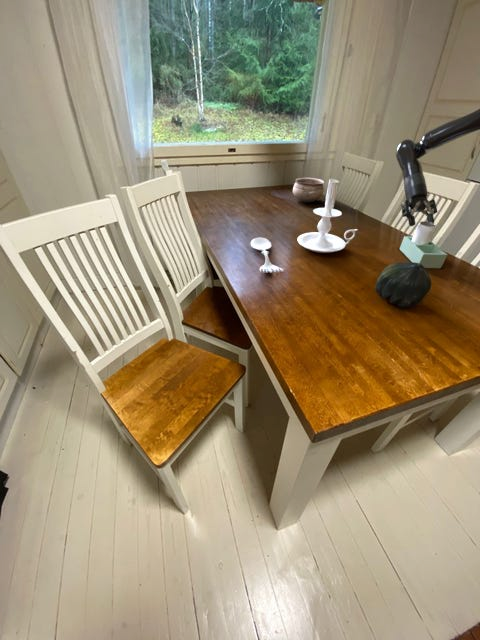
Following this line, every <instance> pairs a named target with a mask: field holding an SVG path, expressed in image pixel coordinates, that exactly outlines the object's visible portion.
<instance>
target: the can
mask: <svg viewBox="0 0 480 640" xmlns="http://www.w3.org/2000/svg"><path fill="white" fill-rule="evenodd" d="M436 225H437V224H436V223H435V222H434V223H431V222H427V220H426V221H423V220H422V221H420V222H419V224H418V225H417V226H416V228H415V231H414V233H413V236H412V237H413V238H412V240H411V241H412V242H413V243H414V244H419V245H428V244H429V242H430V241H431V240H432V238H433V235H434V233H435V231H436Z"/></svg>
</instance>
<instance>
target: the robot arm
mask: <svg viewBox="0 0 480 640" xmlns="http://www.w3.org/2000/svg"><path fill="white" fill-rule="evenodd" d="M478 131H480V108H478V109H476V110H475V111H473V112H470V113H468V114H465V115H463V116H460V117H457V118H455V119H452V120H450V121H447V122H445V123H443V124H441V125H438V126H436V127H434V128H432V129H431V130H428V131H427V132H425V133H424V134H423V135H422V139H421V140H419V141H418V142H416V141H414V140H412V139H409V138H407V139H406V138H405V139H403V140H402V141H400V142H399V144H398V145H397V146H396V149H395V157H396V160H397V163H398V166H399V168H400V170H401V174H402V180H403V190H404V195H405V200H404V201H402V203H401V204H400V207H401V216H402V217H403V218H407V221H408V225H409V227H415V226H416V218H415V213H422V214H423V215H425V216H426V222H431V223H434V224H435V218H434V215H436V214H437V213H439V212H438V207H437V203H436V200H435V198H432V199H431V200H430V199H428V195H429V193H428V187H427V183H426V177H425V175H424V171H423V166H422V163H421V161H420V160H419V159H421V158H422V157H424V156H426V155H427V154H428V153H430V152H431V151H433V150H436V149H438V148H440V147H442V146H445V145H447V144H449V143H451V142H453V141H456V140H458V139H459V138H463V137H464V136H466V135H469V134H471V133H475V132H478Z"/></svg>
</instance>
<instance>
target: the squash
mask: <svg viewBox="0 0 480 640" xmlns="http://www.w3.org/2000/svg"><path fill="white" fill-rule="evenodd" d="M431 288H432V278H431V276H430V274H429V272H428V270H427V268H424V266H423V265H421V264H420V263H415V262H411V261H407V262H394V263H392V264H389V265H387V266H385V268H384V269H382V270H381V272H380V273H379V274H378V277H377V280H376V283H375V292H376V294H377V296H379V297H381V298H382V299H383V300H384V301H386V302H388V301H389V302H390V304H394V305H396V306H397V307H398V308H402V309H404V308H408V307H410V308H411V307H415V306H417V305H419V304H421V303H422V302H423V300H424V299H426V296H427V295H429V293H430V291H431Z"/></svg>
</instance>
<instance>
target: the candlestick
mask: <svg viewBox="0 0 480 640" xmlns="http://www.w3.org/2000/svg"><path fill="white" fill-rule="evenodd" d="M339 184H340V181H339V180H337V179H335V178H329V179H328V184H327V188H326V195H325V202H324V205H325V206H324V207H318V208H317V207H316V208H314V209H313V210H312V212H313V213H314V214H315V215H317V216H320V217H321V219H320V221H318V223H317V226H316V228H317V231H318V232H315V231H314V232H313V231H312V232H306V233H302V234H299V236H298V237H297V238H296V239H297V243H298V244H299V245H300V246H302V247H303V248H305V249H307V250H309V251H311V252H315V253H319V254H329V253H334V252H338V251H341V250H343V249H345V248H346V246H347V245H348V244H350V241H352V240H353V239H354V238H355V236H356V232H357V231H358V229H357V228H354V229H347V230H346V231H345V232H344V234H343V237H344V239H345V240H346V242H345V240H344V239H343V238H341V237H340V236H337V235H334V234H331V233H329V232H330V231H331V230H332V221H331V218H336V217H340V216H342V214H343V212H342V211H340V210H338V209H335V202H336V197H337V193H338V188H339V186H340V185H339ZM350 232H351V233H352V236H351V237H347V235H348V233H350Z"/></svg>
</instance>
